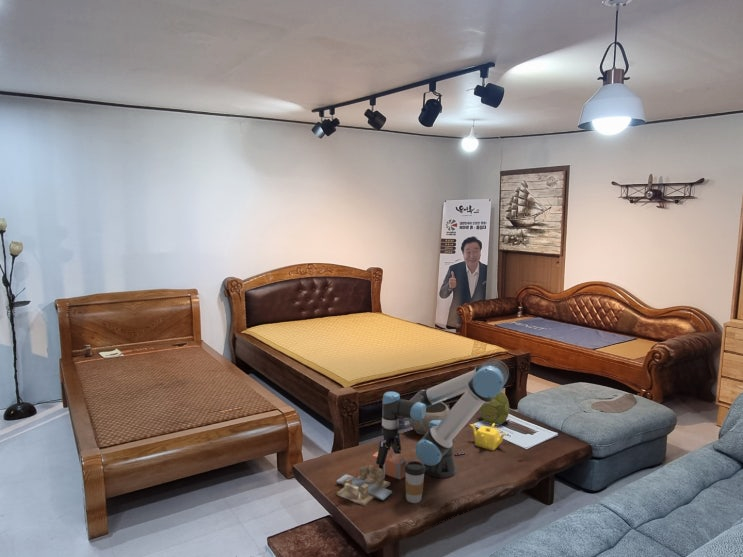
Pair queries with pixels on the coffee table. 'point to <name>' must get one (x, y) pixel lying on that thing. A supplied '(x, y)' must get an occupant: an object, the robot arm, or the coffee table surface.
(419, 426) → the bowl
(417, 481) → the coffee cup
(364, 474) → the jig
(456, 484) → the coffee table surface
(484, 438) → the teapot
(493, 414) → the decorative sculpture
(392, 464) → the reddish-brown block
